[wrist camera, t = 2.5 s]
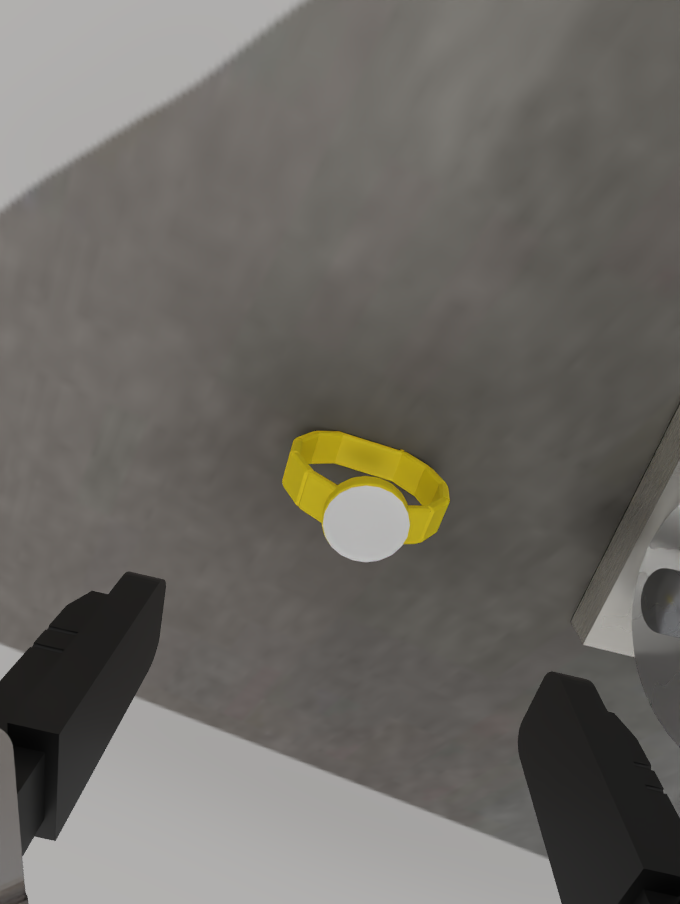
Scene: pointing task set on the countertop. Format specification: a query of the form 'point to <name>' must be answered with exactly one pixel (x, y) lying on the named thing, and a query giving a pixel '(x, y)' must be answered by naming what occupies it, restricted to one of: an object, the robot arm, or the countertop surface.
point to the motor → (644, 585)
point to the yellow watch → (365, 494)
